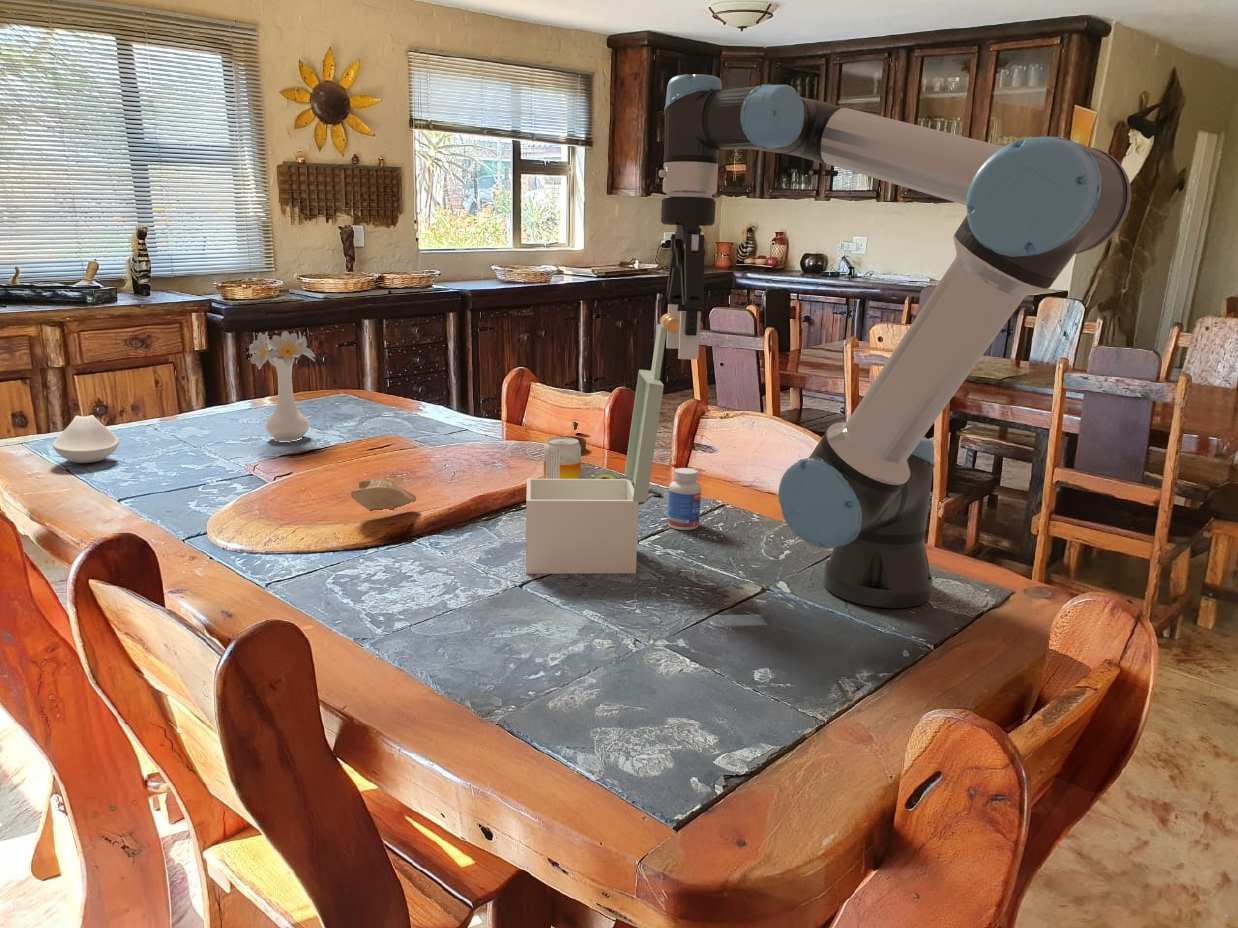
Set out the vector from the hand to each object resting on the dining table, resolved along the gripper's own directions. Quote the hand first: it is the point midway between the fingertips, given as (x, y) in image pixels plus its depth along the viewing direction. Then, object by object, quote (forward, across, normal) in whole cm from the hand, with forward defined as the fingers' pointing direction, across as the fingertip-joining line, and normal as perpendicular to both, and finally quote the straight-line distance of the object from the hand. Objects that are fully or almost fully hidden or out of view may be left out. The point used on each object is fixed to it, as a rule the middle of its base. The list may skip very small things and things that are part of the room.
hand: (681, 353), depth 133 cm
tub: (+31, 0, -14) cm, 35 cm away
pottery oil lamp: (+32, -22, -46) cm, 60 cm away
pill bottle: (+32, -16, +4) cm, 36 cm away
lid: (+20, 0, -6) cm, 21 cm away
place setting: (+32, -67, -11) cm, 75 cm away
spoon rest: (+32, -66, -115) cm, 136 cm away
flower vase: (+32, -78, -78) cm, 115 cm away
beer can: (+32, -15, -16) cm, 39 cm away
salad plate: (+32, -35, -4) cm, 47 cm away
